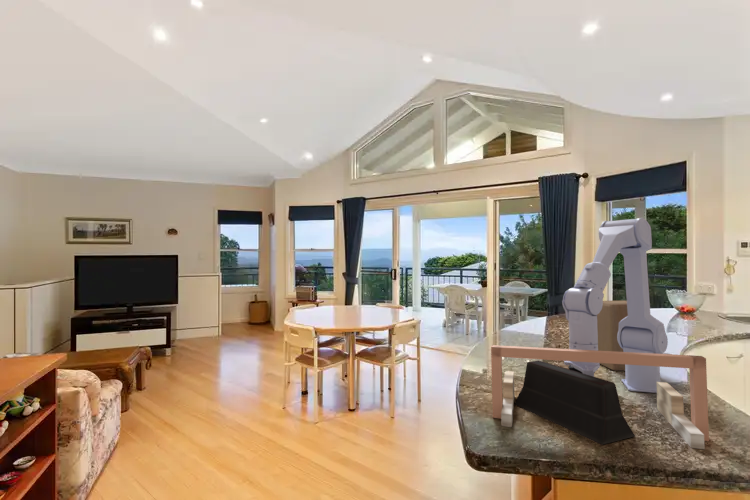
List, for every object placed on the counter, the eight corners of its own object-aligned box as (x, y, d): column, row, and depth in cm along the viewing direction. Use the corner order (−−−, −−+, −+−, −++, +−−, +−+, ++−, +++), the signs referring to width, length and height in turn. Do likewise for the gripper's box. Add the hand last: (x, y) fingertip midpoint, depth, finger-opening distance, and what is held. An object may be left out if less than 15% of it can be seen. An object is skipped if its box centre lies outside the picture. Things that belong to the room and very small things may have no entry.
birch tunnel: (506, 395, 103) (505, 370, 103) (668, 410, 91) (667, 382, 92) (501, 425, 84) (500, 396, 84) (704, 449, 73) (703, 414, 73)
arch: (493, 414, 91) (491, 345, 91) (704, 436, 78) (701, 355, 78) (492, 417, 89) (491, 346, 89) (709, 441, 76) (706, 358, 76)
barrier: (513, 404, 97) (511, 361, 97) (542, 399, 100) (541, 357, 100) (602, 445, 75) (600, 389, 75) (636, 436, 78) (634, 383, 78)
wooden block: (647, 371, 123) (645, 303, 123) (613, 371, 123) (611, 303, 123) (627, 362, 133) (625, 300, 133) (596, 363, 133) (594, 300, 133)
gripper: (561, 335, 101) (562, 392, 100) (566, 347, 87) (568, 413, 87) (593, 337, 98) (595, 395, 98) (604, 349, 84) (606, 417, 84)
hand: (585, 404), depth 92 cm, fingers open, 7 cm apart
